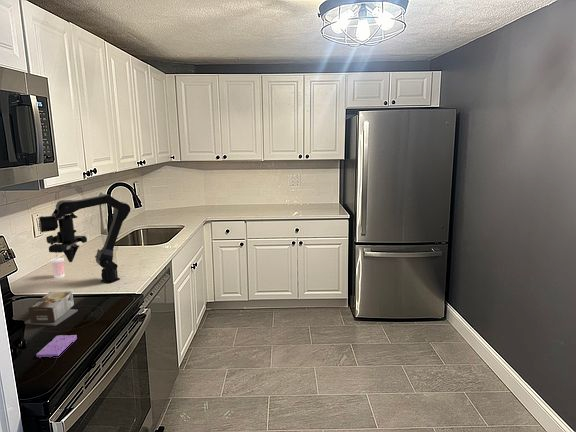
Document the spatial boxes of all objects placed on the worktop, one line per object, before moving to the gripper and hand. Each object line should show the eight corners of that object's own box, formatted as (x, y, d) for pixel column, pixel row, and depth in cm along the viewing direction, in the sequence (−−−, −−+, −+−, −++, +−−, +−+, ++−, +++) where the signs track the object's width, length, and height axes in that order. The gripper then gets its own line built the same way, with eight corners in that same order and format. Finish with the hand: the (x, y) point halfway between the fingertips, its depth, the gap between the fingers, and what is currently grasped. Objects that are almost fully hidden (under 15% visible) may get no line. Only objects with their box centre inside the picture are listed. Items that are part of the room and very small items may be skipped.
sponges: (77, 339, 146) (76, 334, 146) (58, 359, 134) (57, 353, 134) (57, 340, 146) (56, 335, 146) (36, 359, 134) (35, 354, 134)
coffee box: (52, 305, 172) (29, 323, 157) (50, 291, 171) (27, 307, 155) (74, 305, 172) (54, 322, 157) (72, 290, 171) (52, 307, 155)
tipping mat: (48, 309, 170) (48, 307, 170) (77, 310, 168) (77, 309, 168) (24, 323, 158) (24, 322, 158) (55, 325, 156) (55, 324, 156)
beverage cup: (56, 274, 211) (52, 248, 208) (68, 274, 211) (65, 247, 208) (50, 278, 205) (46, 251, 202) (63, 278, 205) (59, 251, 202)
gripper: (64, 223, 196) (68, 255, 199) (35, 233, 178) (40, 267, 181) (85, 224, 194) (89, 256, 198) (58, 234, 176) (63, 269, 180)
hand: (70, 261), depth 189 cm, fingers closed
